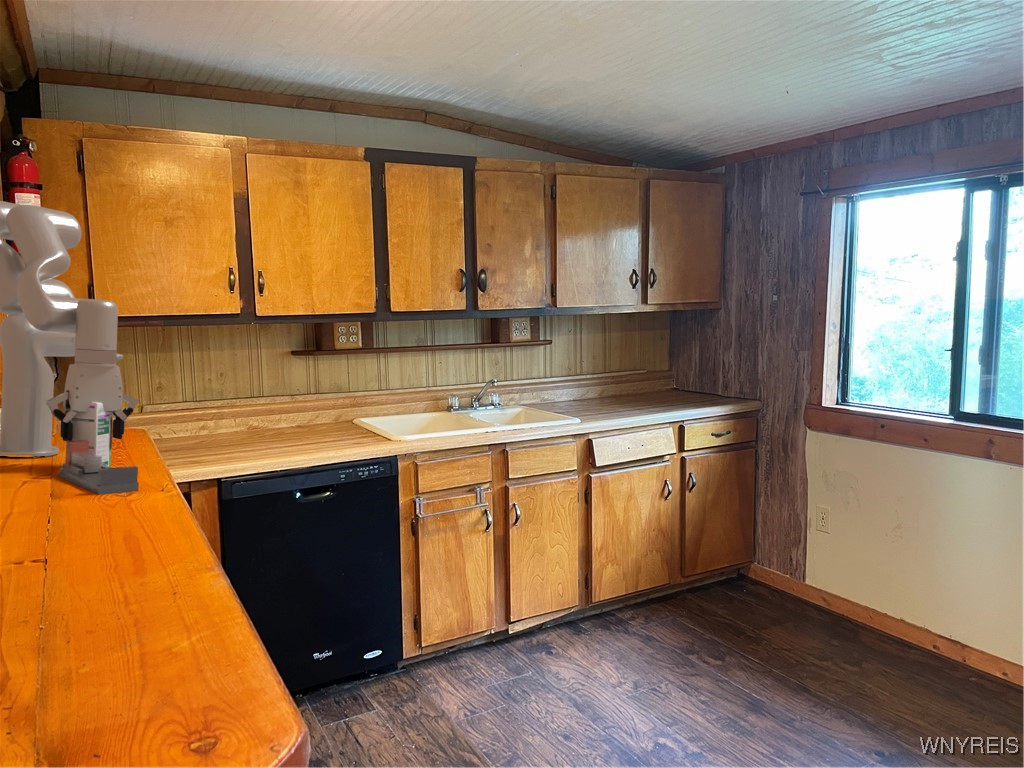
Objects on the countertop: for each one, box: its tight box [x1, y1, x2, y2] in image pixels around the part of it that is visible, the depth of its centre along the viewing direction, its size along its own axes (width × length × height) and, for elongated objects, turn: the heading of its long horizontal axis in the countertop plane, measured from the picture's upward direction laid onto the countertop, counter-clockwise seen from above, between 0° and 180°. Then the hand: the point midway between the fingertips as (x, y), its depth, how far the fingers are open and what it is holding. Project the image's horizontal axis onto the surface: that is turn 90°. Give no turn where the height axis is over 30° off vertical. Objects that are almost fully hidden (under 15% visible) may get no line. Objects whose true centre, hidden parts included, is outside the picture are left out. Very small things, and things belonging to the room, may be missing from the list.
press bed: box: [58, 462, 140, 495], centre depth 136 cm, size 19×7×4 cm, turn 51°
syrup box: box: [70, 402, 114, 468], centre depth 148 cm, size 6×6×14 cm
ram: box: [64, 440, 102, 473], centre depth 140 cm, size 9×3×5 cm, turn 51°
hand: (92, 439), depth 148 cm, fingers open, 9 cm apart
